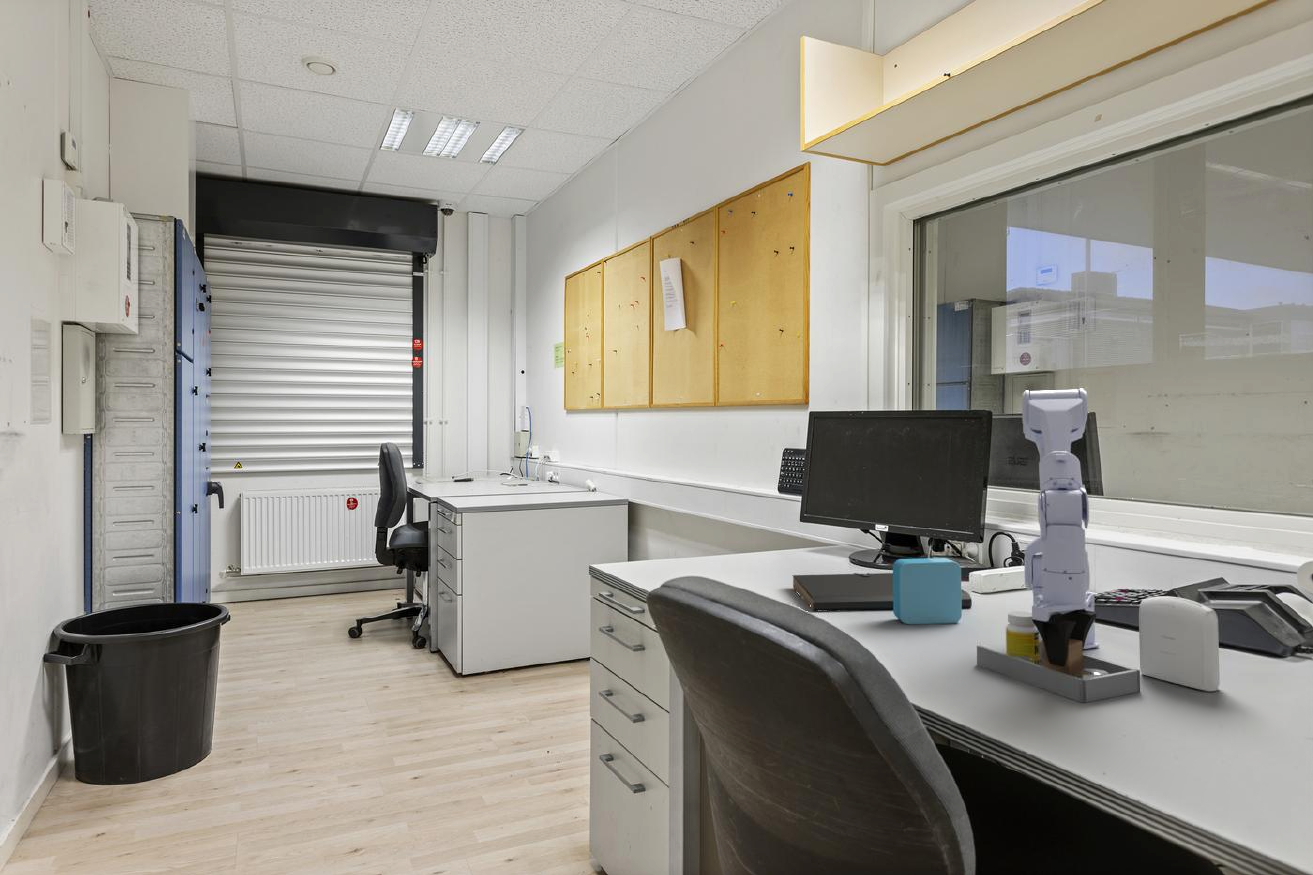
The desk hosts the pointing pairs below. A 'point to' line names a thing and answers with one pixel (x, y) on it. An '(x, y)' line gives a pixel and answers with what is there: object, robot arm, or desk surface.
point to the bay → (1065, 676)
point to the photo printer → (1179, 642)
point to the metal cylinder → (1092, 673)
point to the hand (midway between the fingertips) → (1064, 661)
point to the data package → (927, 591)
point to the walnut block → (1073, 659)
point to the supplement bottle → (1022, 637)
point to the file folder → (851, 591)
